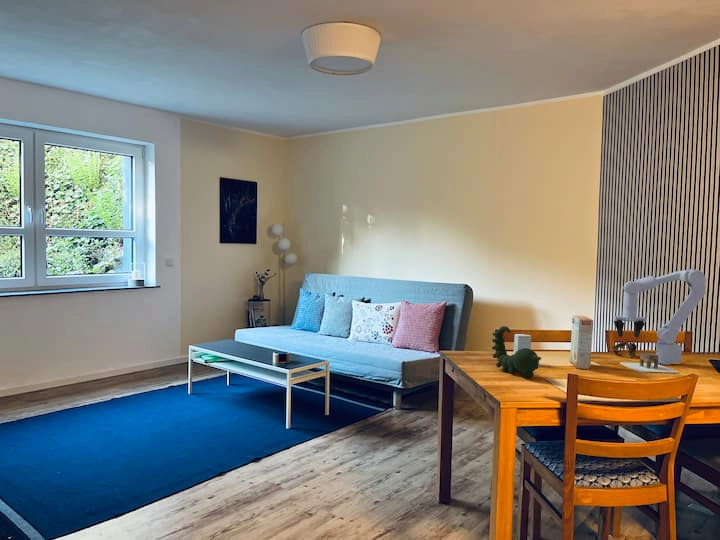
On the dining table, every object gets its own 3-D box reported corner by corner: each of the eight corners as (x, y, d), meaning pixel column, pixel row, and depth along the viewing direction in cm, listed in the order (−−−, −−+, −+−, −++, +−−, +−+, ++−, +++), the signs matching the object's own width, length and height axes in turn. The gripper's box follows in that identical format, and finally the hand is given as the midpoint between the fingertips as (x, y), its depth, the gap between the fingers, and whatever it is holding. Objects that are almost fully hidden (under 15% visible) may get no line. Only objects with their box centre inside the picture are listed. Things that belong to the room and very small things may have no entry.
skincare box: (517, 363, 224) (518, 335, 224) (512, 361, 229) (513, 333, 228) (530, 363, 225) (532, 335, 225) (525, 361, 230) (527, 333, 229)
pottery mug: (629, 360, 243) (619, 343, 245) (614, 365, 251) (605, 349, 253) (645, 352, 248) (636, 336, 250) (630, 357, 256) (622, 341, 258)
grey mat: (655, 364, 232) (655, 363, 232) (678, 373, 216) (679, 371, 216) (620, 363, 231) (620, 362, 231) (641, 372, 216) (641, 371, 215)
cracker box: (591, 370, 217) (594, 319, 216) (575, 369, 218) (578, 318, 217) (583, 363, 231) (586, 315, 230) (569, 361, 232) (571, 314, 231)
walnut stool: (649, 365, 227) (650, 353, 226) (657, 368, 222) (658, 355, 222) (639, 365, 226) (640, 353, 225) (647, 368, 221) (648, 355, 221)
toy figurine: (487, 372, 214) (531, 381, 191) (486, 325, 215) (530, 329, 192) (505, 370, 218) (550, 379, 195) (504, 324, 219) (549, 328, 196)
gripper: (640, 307, 245) (638, 335, 246) (610, 305, 244) (608, 334, 245) (649, 308, 238) (647, 338, 239) (618, 307, 237) (616, 337, 238)
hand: (628, 336), depth 241 cm, fingers open, 7 cm apart
